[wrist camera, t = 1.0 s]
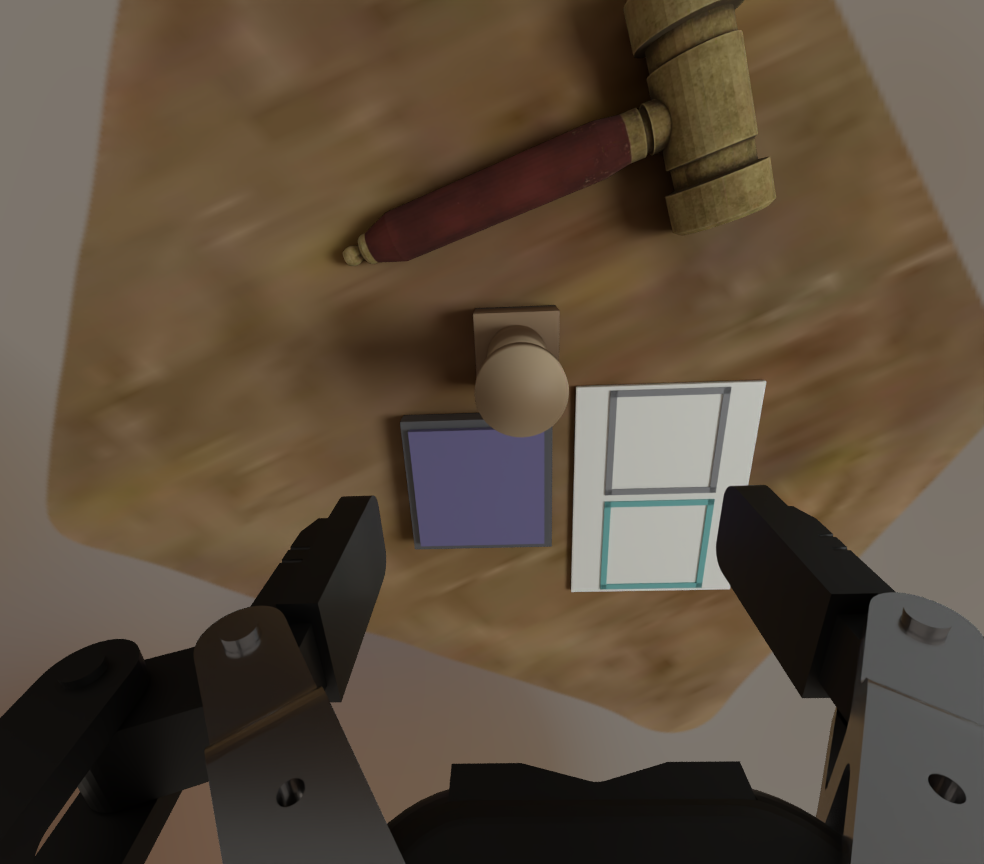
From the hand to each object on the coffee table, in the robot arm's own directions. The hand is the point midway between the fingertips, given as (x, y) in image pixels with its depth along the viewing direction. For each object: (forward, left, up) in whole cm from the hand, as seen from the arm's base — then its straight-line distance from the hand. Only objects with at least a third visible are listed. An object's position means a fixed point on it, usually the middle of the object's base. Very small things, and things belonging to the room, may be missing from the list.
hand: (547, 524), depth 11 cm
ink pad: (+8, -3, -18) cm, 20 cm away
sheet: (+10, +9, -18) cm, 22 cm away
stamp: (0, 0, -18) cm, 18 cm away
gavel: (-9, +1, -19) cm, 21 cm away
